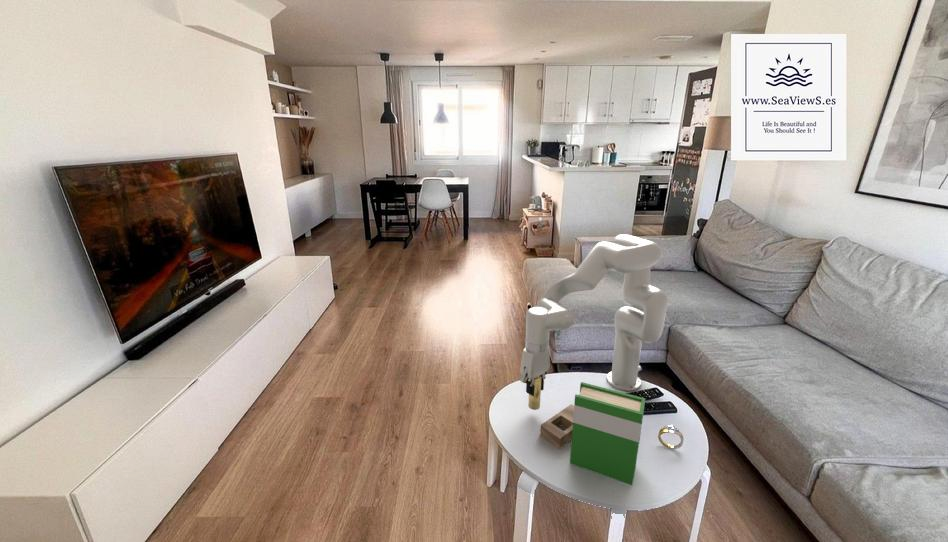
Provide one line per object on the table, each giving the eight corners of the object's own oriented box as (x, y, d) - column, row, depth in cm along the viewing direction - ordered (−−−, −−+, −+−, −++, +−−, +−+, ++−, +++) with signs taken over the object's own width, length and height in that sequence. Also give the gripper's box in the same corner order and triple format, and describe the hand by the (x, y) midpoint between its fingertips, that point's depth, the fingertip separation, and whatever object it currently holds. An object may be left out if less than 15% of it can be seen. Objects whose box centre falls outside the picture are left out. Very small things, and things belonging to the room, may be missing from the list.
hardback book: (569, 463, 119) (575, 396, 111) (575, 446, 125) (581, 381, 117) (632, 485, 111) (642, 414, 103) (635, 466, 117) (645, 398, 110)
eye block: (570, 413, 140) (571, 404, 139) (589, 425, 134) (590, 415, 133) (540, 434, 130) (540, 425, 129) (559, 448, 124) (560, 438, 123)
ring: (681, 448, 123) (685, 428, 121) (680, 455, 121) (684, 434, 118) (657, 440, 127) (661, 419, 124) (655, 446, 125) (659, 425, 122)
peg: (533, 400, 141) (535, 371, 137) (542, 406, 138) (543, 376, 134) (525, 405, 139) (527, 376, 135) (534, 411, 136) (535, 381, 132)
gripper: (544, 332, 138) (542, 377, 144) (510, 348, 128) (509, 396, 134) (562, 340, 133) (559, 386, 139) (527, 357, 123) (526, 406, 129)
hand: (534, 390), depth 136 cm, fingers closed on peg, 4 cm apart
